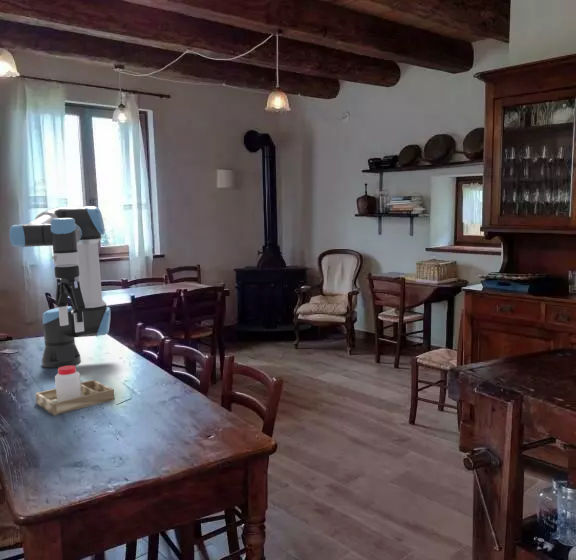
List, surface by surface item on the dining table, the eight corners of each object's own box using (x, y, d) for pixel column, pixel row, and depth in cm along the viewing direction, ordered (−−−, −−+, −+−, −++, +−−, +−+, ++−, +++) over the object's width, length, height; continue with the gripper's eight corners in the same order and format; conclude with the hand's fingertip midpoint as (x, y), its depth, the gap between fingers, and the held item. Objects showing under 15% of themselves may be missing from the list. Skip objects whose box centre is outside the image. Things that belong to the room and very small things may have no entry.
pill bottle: (51, 402, 185) (48, 369, 184) (70, 394, 192) (68, 363, 191) (68, 405, 182) (65, 372, 180) (86, 397, 188) (84, 365, 187)
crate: (36, 403, 188) (35, 393, 187) (94, 389, 201) (93, 379, 200) (53, 415, 176) (52, 404, 175) (114, 399, 189) (113, 389, 189)
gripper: (41, 263, 193) (47, 324, 196) (69, 269, 174) (74, 336, 177) (64, 261, 198) (69, 321, 201) (93, 267, 179) (98, 332, 182)
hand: (71, 328), depth 189 cm, fingers open, 13 cm apart
